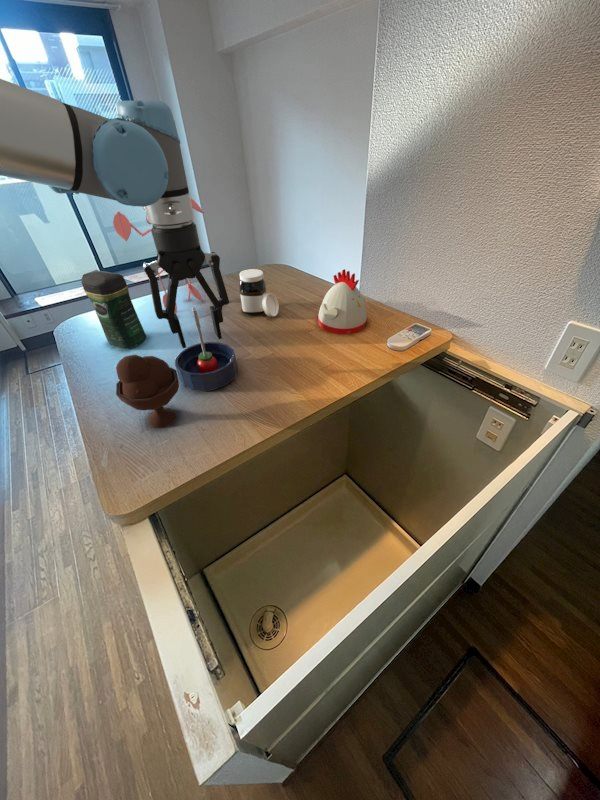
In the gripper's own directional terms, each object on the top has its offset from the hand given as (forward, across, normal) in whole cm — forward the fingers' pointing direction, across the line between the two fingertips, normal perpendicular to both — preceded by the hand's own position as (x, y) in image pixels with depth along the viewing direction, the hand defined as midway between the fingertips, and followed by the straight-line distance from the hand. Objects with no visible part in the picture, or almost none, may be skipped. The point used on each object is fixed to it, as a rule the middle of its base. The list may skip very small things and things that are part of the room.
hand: (201, 340), depth 71 cm
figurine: (+10, +4, +36) cm, 37 cm away
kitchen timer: (+10, +41, +7) cm, 43 cm away
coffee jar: (+10, -16, +26) cm, 32 cm away
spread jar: (+10, +23, +25) cm, 35 cm away
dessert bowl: (+9, 0, 0) cm, 9 cm away
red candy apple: (+9, 0, 0) cm, 9 cm away
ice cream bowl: (+10, -12, -10) cm, 19 cm away
